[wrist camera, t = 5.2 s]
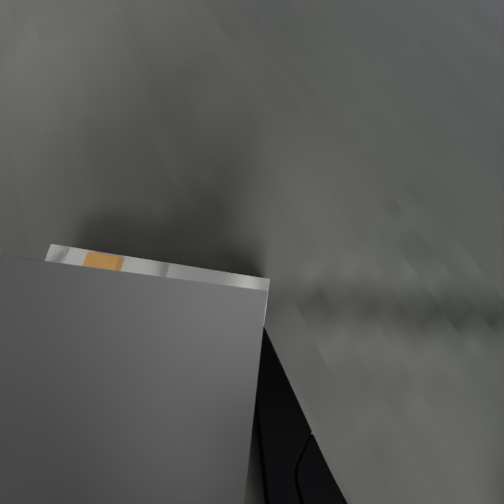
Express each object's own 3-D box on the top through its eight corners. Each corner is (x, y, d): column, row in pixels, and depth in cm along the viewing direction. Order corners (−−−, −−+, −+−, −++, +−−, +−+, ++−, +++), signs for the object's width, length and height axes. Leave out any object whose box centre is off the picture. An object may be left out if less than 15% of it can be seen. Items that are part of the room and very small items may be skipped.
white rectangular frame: (247, 413, 19) (249, 440, 15) (35, 378, 19) (-23, 395, 15) (265, 284, 22) (271, 277, 18) (80, 255, 22) (42, 240, 18)
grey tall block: (238, 392, 13) (224, 680, 3) (160, 381, 13) (-161, 627, 3) (249, 311, 15) (267, 290, 4) (177, 301, 14) (2, 255, 4)
